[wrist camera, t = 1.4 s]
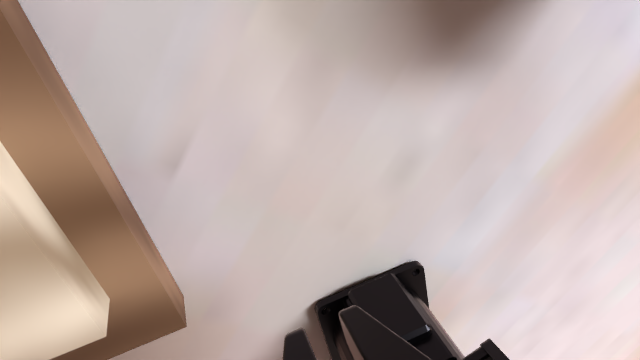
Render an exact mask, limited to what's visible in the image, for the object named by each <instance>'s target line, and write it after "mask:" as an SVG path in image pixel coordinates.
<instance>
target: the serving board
mask: <svg viewBox="0 0 640 360" xmlns="http://www.w3.org/2000/svg"><path fill="white" fill-rule="evenodd" d="M0 142H1V143H2V145H3V146H4V147H5V149H6V150H7V152H8V153H9V155H10V156H11V158H12V159H13V160H14V162H15V163H16V165H17V166H18V168H19V169H20V170H21V172H22V173H23V175H24V176H25V178H26V179H27V181H28V182H29V183H30V185H31V186H32V188H33V189H34V191H35V192H36V193H37V195H38V196H39V198H40V199H41V201H42V202H43V204H44V205H45V206H46V208H47V209H48V211H49V212H50V214H51V215H52V216H53V218H54V219H55V221H56V222H57V224H58V225H59V227H60V228H61V229H62V231H63V232H64V234H65V235H66V237H67V238H68V240H69V241H70V242H71V244H72V245H73V247H74V248H75V250H76V251H77V252H78V254H79V255H80V257H81V258H82V260H83V261H84V263H85V264H86V265H87V267H88V268H89V270H90V271H91V273H92V274H93V275H94V277H95V278H96V280H97V281H98V283H99V284H100V286H101V287H102V288H103V290H104V291H105V293H106V294H107V296H108V297H109V298H110V303H109V313H108V323H107V334H106V337H104V338H101V339H99V340H97V341H94V342H92V343H89V344H87V345H84V346H82V347H79V348H77V349H74V350H72V351H69V352H67V353H65V354H62V355H60V356H57V357H55V358H52V359H50V360H108V359H110V358H112V357H115V356H117V355H120V354H122V353H124V352H127V351H129V350H132V349H134V348H136V347H139V346H141V345H144V344H146V343H149V342H151V341H153V340H156V339H158V338H161V337H163V336H165V335H168V334H170V333H173V332H175V331H177V330H180V329H182V328H185V327H187V326H186V316H185V307H184V297H183V295H182V293H181V291H180V289H179V287H178V286H177V284H176V282H175V280H174V278H173V277H172V275H171V273H170V271H169V270H168V268H167V266H166V264H165V262H164V261H163V259H162V257H161V255H160V253H159V252H158V250H157V248H156V246H155V245H154V243H153V241H152V239H151V237H150V236H149V234H148V232H147V230H146V229H145V227H144V225H143V223H142V221H141V220H140V218H139V216H138V214H137V212H136V211H135V209H134V207H133V205H132V204H131V202H130V200H129V198H128V196H127V195H126V193H125V191H124V189H123V188H122V186H121V184H120V182H119V180H118V179H117V177H116V175H115V173H114V171H113V170H112V168H111V166H110V164H109V163H108V161H107V159H106V157H105V155H104V154H103V152H102V150H101V148H100V147H99V145H98V143H97V141H96V139H95V138H94V136H93V134H92V132H91V130H90V129H89V127H88V125H87V123H86V122H85V120H84V118H83V116H82V114H81V113H80V111H79V109H78V107H77V106H76V104H75V102H74V100H73V98H72V97H71V95H70V93H69V91H68V89H67V88H66V86H65V84H64V82H63V81H62V79H61V77H60V75H59V73H58V72H57V70H56V68H55V66H54V65H53V63H52V61H51V59H50V57H49V56H48V54H47V52H46V50H45V48H44V47H43V45H42V43H41V41H40V40H39V38H38V36H37V34H36V32H35V31H34V29H33V27H32V25H31V24H30V22H29V20H28V18H27V16H26V15H25V13H24V11H23V9H22V7H21V6H20V4H19V2H18V0H0Z"/></svg>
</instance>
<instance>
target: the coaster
mask: <svg viewBox="0 0 640 360" xmlns="http://www.w3.org/2000/svg"><path fill="white" fill-rule="evenodd" d="M109 303H110V298H109V297H108V296H107V294H106V293H105V291H104V290H103V288H102V287H101V286H100V284H99V283H98V281H97V280H96V278H95V277H94V275H93V274H92V273H91V271H90V270H89V268H88V267H87V265H86V264H85V263H84V261H83V260H82V258H81V257H80V255H79V254H78V252H77V251H76V250H75V248H74V247H73V245H72V244H71V242H70V241H69V240H68V238H67V237H66V235H65V234H64V232H63V231H62V229H61V228H60V227H59V225H58V224H57V222H56V221H55V219H54V218H53V216H52V215H51V214H50V212H49V211H48V209H47V208H46V206H45V205H44V204H43V202H42V201H41V199H40V198H39V196H38V195H37V193H36V192H35V191H34V189H33V188H32V186H31V185H30V183H29V182H28V181H27V179H26V178H25V176H24V175H23V173H22V172H21V170H20V169H19V168H18V166H17V165H16V163H15V162H14V160H13V159H12V158H11V156H10V155H9V153H8V152H7V150H6V149H5V147H4V146H3V145H2V143H1V142H0V360H50V359H52V358H55V357H57V356H60V355H62V354H65V353H67V352H69V351H72V350H74V349H77V348H79V347H82V346H84V345H87V344H89V343H92V342H94V341H97V340H99V339H101V338H104V337H106V334H107V323H108V313H109Z"/></svg>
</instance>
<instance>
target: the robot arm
mask: <svg viewBox="0 0 640 360" xmlns="http://www.w3.org/2000/svg"><path fill="white" fill-rule="evenodd" d="M324 308H326V309H324ZM323 309H324V310H323ZM315 311H316V314H317V317H318V320H319V323H320V326H321V329H322V332H323V335H324V338H325V341H326V344H327V347H328V350H329V353H330V356H331V359H332V360H509V359H508V358H507V356H506V355H505V354H504V353H503V352H502V351H501V350H500V349H499V348H498V347H497V346H496V345H495V344H494V343H493V342H492V341H491V339H487V340H486V341H484V342H483V343H482V344H480V346H481V347H479V348H478V349H476V350H475V351H474V352H472V353H471V354H469V355H468V356H466V357H464V356H463V354H462V353H461V352H460V350H459V349H458V347H457V346H456V345H455V343H454V342H453V341H452V339H451V338H450V337H449V335H448V334H447V333H446V331H445V330H444V329H443V327H442V326H441V325H440V323H439V322H438V321H437V319H436V318H435V317H434V315H433V314H432V312H431V311H430V310H429V305H428V297H427V289H426V281H425V273H424V268H423V266H422V265H421V264H420V263H419V262H418V261H412V262H410V263H407V264H405V265H403V266H400V267H398V268H396V269H393V270H391V271H389V272H386V273H384V274H382V275H379V276H377V277H375V278H372V279H370V280H368V281H365V282H363V283H361V284H358V285H356V286H354V287H351V288H349V289H347V290H344V291H342V292H339V293H337V294H335V295H332V296H330V297H328V298H325V299H323V300H321V301H319V302H318V303H317V304H316V306H315ZM283 360H316V357H315V355H314V352H313V350H312V347H311V345H310V342H309V340H308V337H307V335H306V332H305V330H304V329H303V328H300V329H297V330H295V331H293V332H290V333H288V334H287V335H286V336H285V340H284V351H283Z"/></svg>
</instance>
